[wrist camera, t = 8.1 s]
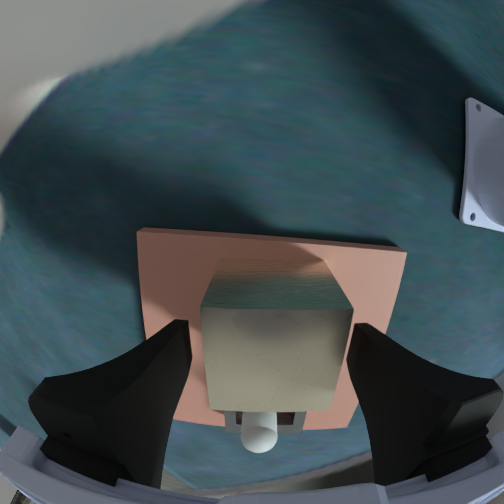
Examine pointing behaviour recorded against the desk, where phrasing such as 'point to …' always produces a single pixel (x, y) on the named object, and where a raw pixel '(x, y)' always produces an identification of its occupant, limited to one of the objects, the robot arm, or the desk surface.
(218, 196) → the desk surface
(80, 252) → the desk surface
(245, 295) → the beige block with handle
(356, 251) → the keeper board
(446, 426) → the robot arm
